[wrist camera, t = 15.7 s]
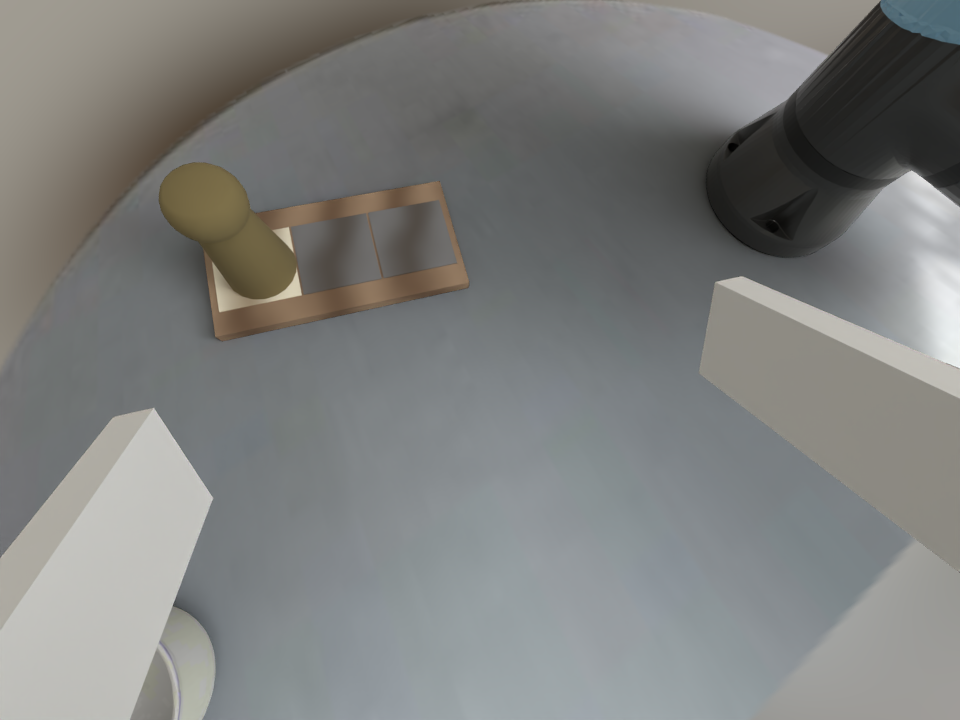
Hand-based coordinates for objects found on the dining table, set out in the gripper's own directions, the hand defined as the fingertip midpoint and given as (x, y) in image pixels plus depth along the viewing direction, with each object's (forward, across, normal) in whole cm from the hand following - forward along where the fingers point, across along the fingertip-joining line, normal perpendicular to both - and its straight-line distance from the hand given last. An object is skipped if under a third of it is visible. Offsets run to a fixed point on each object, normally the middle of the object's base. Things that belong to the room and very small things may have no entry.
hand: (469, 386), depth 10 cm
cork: (+32, -12, -5) cm, 34 cm away
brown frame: (+33, -6, -6) cm, 34 cm away
